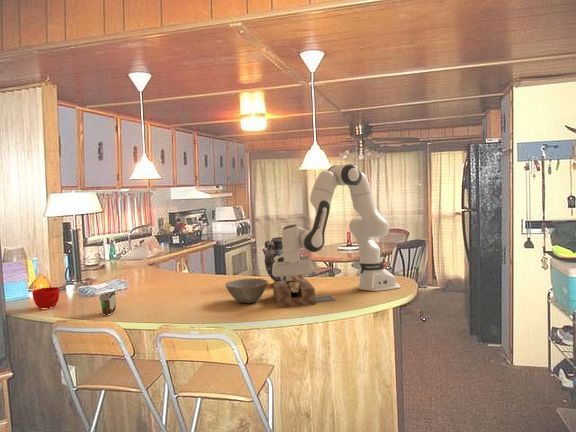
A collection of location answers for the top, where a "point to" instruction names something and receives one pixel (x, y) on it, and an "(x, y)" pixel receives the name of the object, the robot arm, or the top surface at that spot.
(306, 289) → the walnut channel block
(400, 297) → the top surface
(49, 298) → the ceramic cup
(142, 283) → the top surface
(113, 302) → the food container
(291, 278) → the small box
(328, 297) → the slate mat
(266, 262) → the decorative vase
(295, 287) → the beech bar
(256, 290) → the ceramic bowl
